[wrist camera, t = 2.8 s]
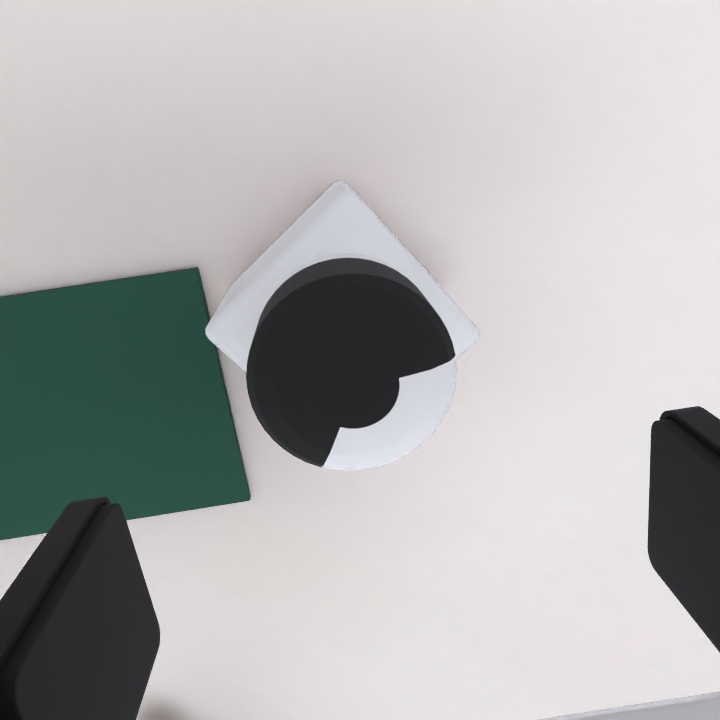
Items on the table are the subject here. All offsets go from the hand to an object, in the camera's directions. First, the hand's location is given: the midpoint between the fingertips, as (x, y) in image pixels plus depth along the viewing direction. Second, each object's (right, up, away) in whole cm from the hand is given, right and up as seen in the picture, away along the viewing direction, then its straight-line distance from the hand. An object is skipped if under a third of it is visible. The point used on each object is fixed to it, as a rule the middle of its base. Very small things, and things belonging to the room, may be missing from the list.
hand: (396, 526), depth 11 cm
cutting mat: (-14, 0, +18) cm, 23 cm away
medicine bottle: (-2, +6, +18) cm, 19 cm away
